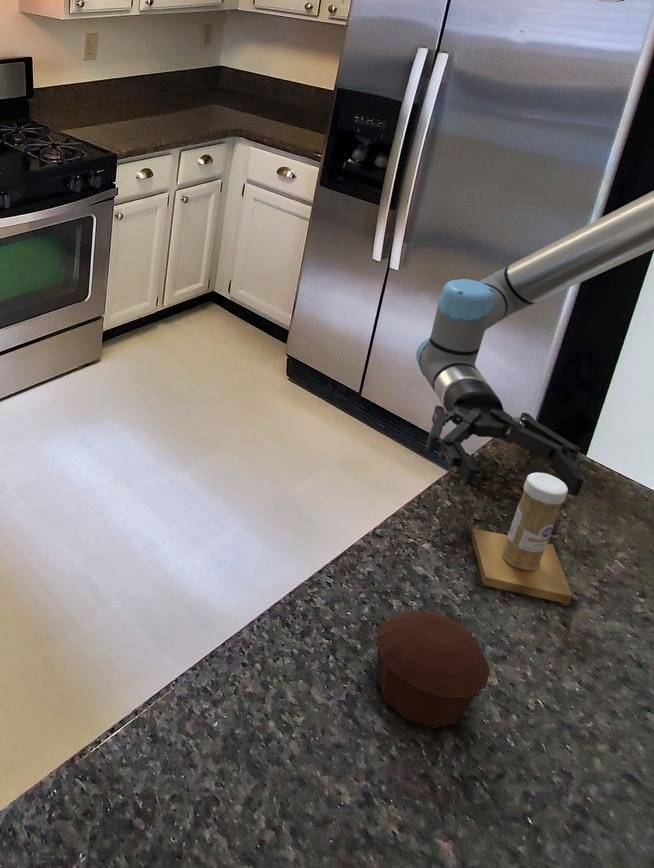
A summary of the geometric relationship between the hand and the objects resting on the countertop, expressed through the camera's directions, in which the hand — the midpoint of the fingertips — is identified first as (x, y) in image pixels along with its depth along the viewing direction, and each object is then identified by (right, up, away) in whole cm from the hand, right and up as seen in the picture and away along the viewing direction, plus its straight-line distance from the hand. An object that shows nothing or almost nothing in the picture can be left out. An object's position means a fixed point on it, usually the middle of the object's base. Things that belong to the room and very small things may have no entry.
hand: (524, 482), depth 110 cm
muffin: (-24, -21, -17) cm, 36 cm away
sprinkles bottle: (-1, -11, 0) cm, 11 cm away
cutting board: (-1, -12, 0) cm, 12 cm away
